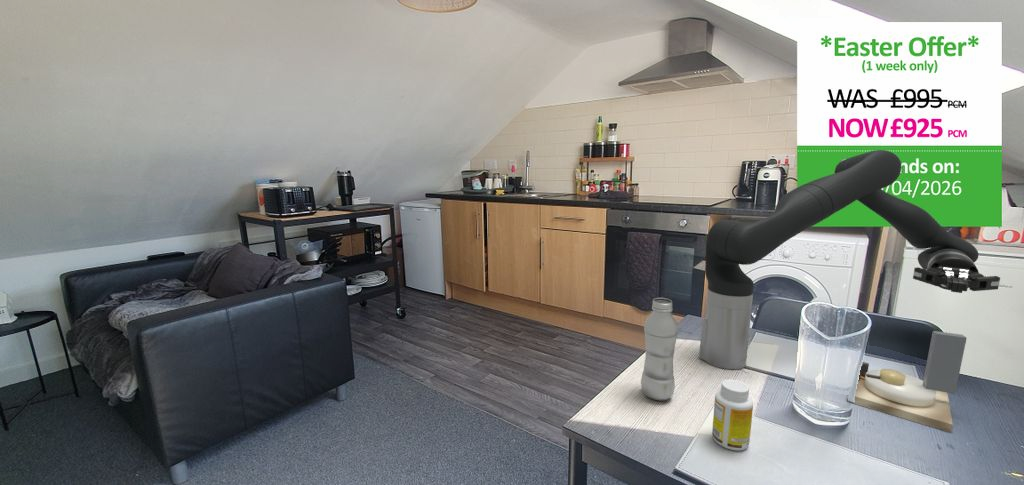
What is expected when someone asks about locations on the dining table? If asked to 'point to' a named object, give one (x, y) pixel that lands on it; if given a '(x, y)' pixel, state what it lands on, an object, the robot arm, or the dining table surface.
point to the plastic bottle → (659, 351)
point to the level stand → (906, 406)
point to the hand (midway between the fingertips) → (957, 287)
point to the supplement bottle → (732, 415)
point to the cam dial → (937, 375)
